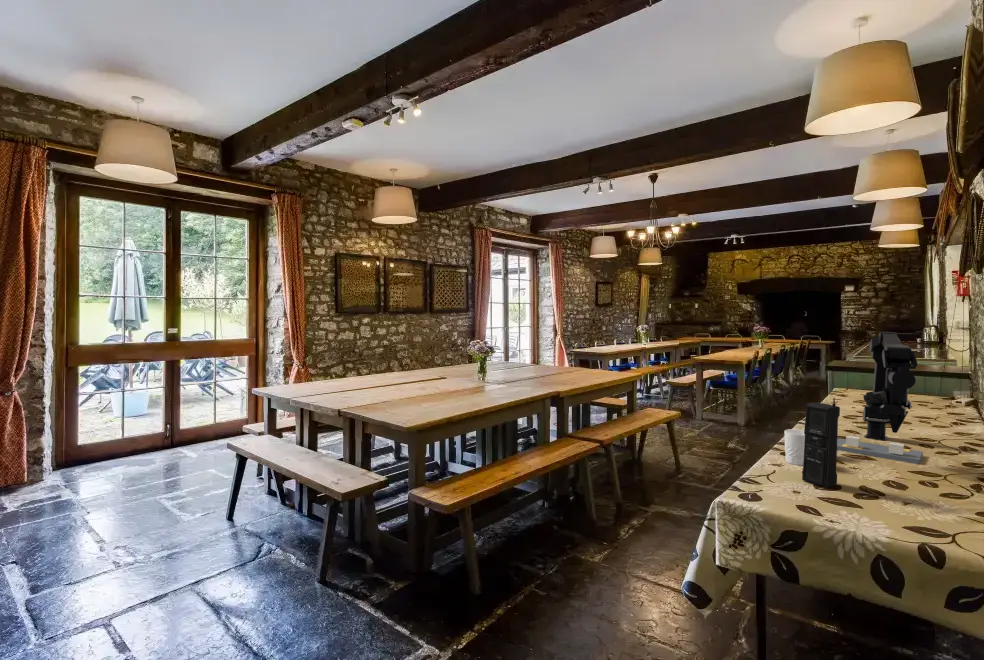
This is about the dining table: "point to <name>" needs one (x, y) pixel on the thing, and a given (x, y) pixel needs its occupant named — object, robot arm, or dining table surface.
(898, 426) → the robot arm
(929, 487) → the dining table surface
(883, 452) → the switch panel
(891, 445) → the slider
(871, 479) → the dining table surface
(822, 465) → the portable radio
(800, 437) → the white cup
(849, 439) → the slider
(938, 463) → the dining table surface
